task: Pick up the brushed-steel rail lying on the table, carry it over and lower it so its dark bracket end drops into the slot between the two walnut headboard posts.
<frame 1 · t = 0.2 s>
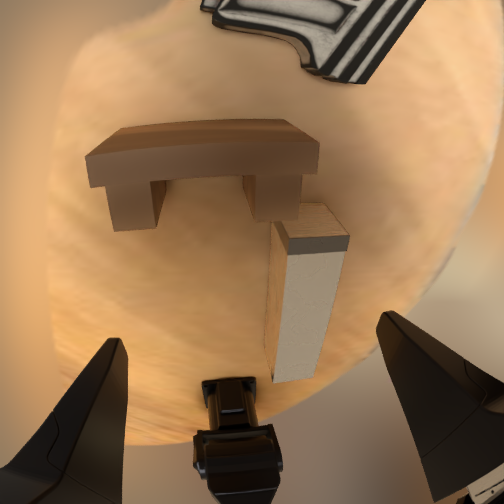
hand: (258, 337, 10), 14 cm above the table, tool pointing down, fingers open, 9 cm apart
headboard: (203, 168, 21), on the table
rail: (289, 285, 28), on the table
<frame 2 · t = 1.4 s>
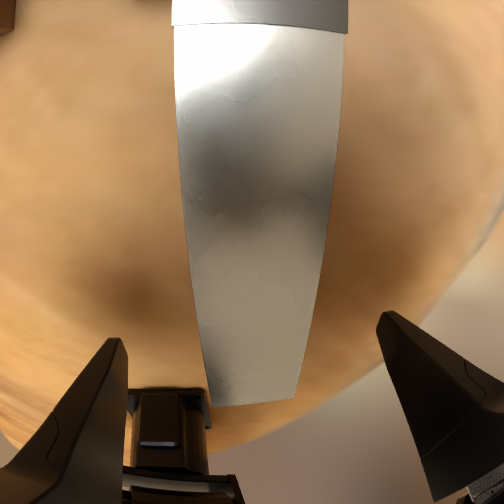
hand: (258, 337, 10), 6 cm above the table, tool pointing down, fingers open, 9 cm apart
rail: (239, 202, 13), on the table
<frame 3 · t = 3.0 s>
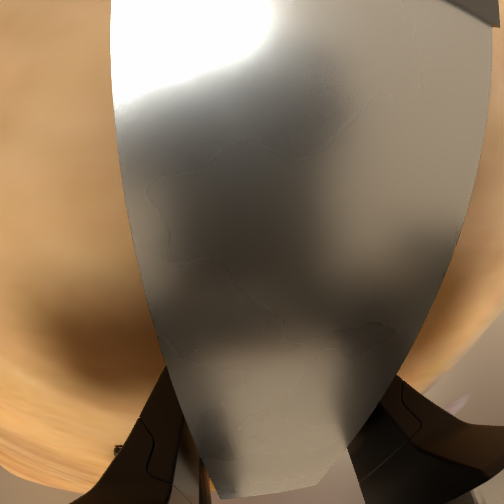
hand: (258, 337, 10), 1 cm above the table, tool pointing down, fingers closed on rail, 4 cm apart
rail: (253, 268, 9), on the table, touching gripper
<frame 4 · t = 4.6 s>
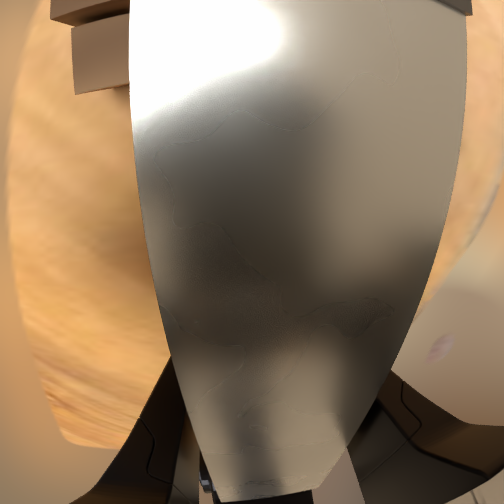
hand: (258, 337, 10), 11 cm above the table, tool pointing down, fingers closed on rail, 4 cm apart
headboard: (202, 50, 14), on the table
rail: (253, 266, 10), point 10 cm above the table, touching gripper
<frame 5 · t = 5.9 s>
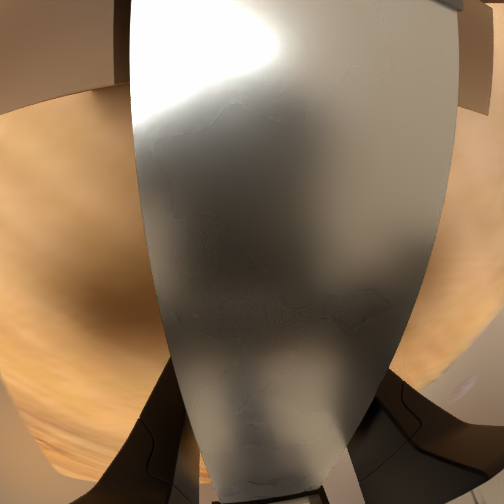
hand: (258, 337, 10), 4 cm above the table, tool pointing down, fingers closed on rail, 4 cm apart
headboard: (242, 34, 8), on the table
rail: (252, 265, 10), point 3 cm above the table, touching gripper
when the fingers open (2 cm above the table, at t = 6.6 s): rail drops 1 cm, on the table.
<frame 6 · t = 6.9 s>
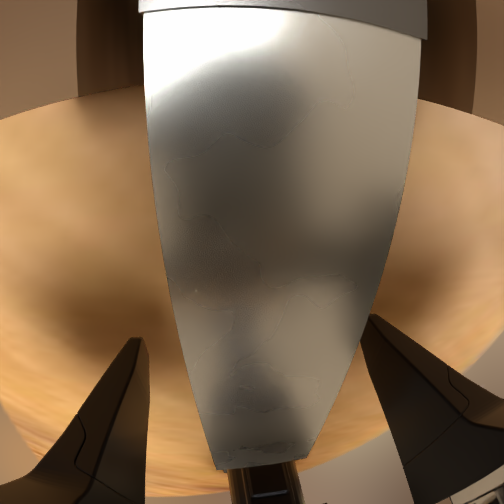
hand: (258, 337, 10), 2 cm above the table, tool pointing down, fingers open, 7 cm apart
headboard: (249, 29, 7), on the table
rail: (246, 249, 11), on the table
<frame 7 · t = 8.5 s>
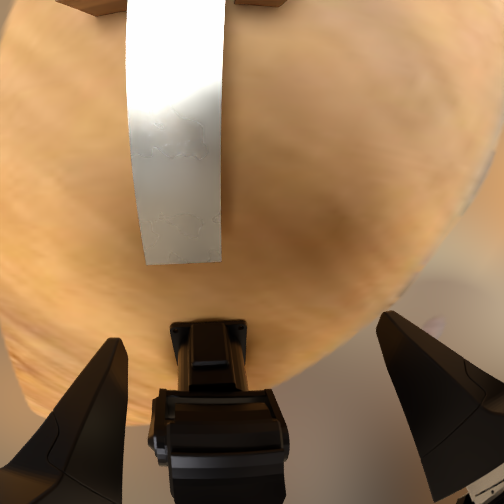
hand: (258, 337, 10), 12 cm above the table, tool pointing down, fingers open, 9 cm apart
rail: (182, 96, 16), on the table
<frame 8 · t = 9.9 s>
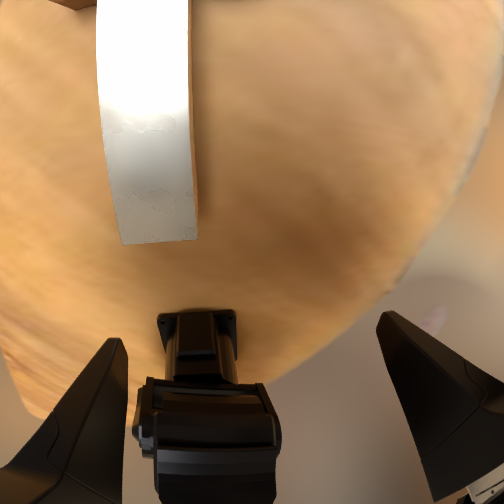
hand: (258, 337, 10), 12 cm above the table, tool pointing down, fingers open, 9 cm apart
rail: (157, 79, 15), on the table
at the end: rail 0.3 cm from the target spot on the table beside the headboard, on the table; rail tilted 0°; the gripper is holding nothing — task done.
